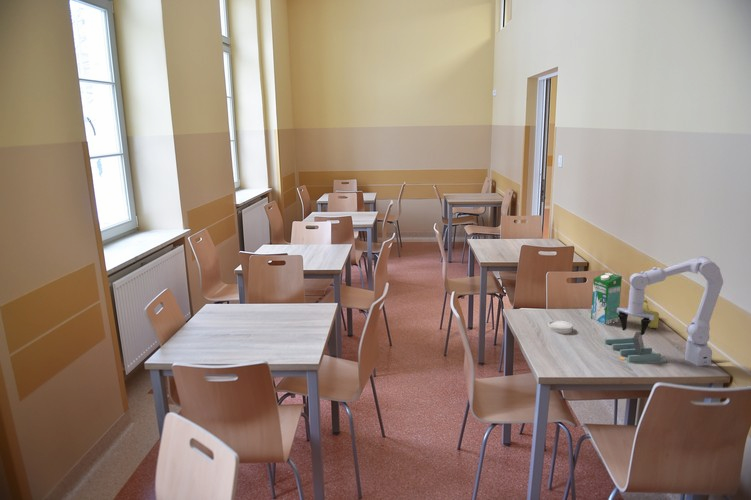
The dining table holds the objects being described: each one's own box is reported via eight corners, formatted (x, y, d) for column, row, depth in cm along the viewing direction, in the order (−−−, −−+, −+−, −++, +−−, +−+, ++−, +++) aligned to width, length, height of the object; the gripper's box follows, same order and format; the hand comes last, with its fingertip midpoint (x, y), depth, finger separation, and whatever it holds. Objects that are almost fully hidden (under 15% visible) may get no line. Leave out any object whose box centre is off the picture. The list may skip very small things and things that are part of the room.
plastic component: (657, 329, 253) (659, 310, 251) (641, 329, 255) (642, 309, 253) (645, 316, 272) (647, 297, 270) (630, 315, 274) (631, 297, 272)
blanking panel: (644, 347, 223) (640, 332, 222) (641, 354, 217) (638, 338, 216) (639, 347, 224) (635, 332, 224) (636, 354, 218) (632, 338, 217)
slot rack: (666, 362, 218) (667, 354, 217) (625, 365, 216) (626, 357, 215) (636, 343, 238) (636, 336, 237) (598, 345, 236) (599, 338, 235)
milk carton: (590, 321, 266) (593, 274, 261) (603, 318, 270) (607, 271, 264) (604, 327, 258) (608, 278, 253) (618, 324, 262) (622, 275, 256)
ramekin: (552, 328, 258) (553, 318, 256) (575, 333, 251) (576, 323, 250) (543, 335, 249) (544, 325, 248) (567, 340, 242) (567, 330, 241)
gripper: (658, 303, 219) (654, 333, 222) (622, 296, 230) (620, 325, 232) (651, 307, 214) (648, 338, 217) (615, 299, 225) (613, 329, 228)
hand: (633, 332), depth 225 cm, fingers open, 7 cm apart
